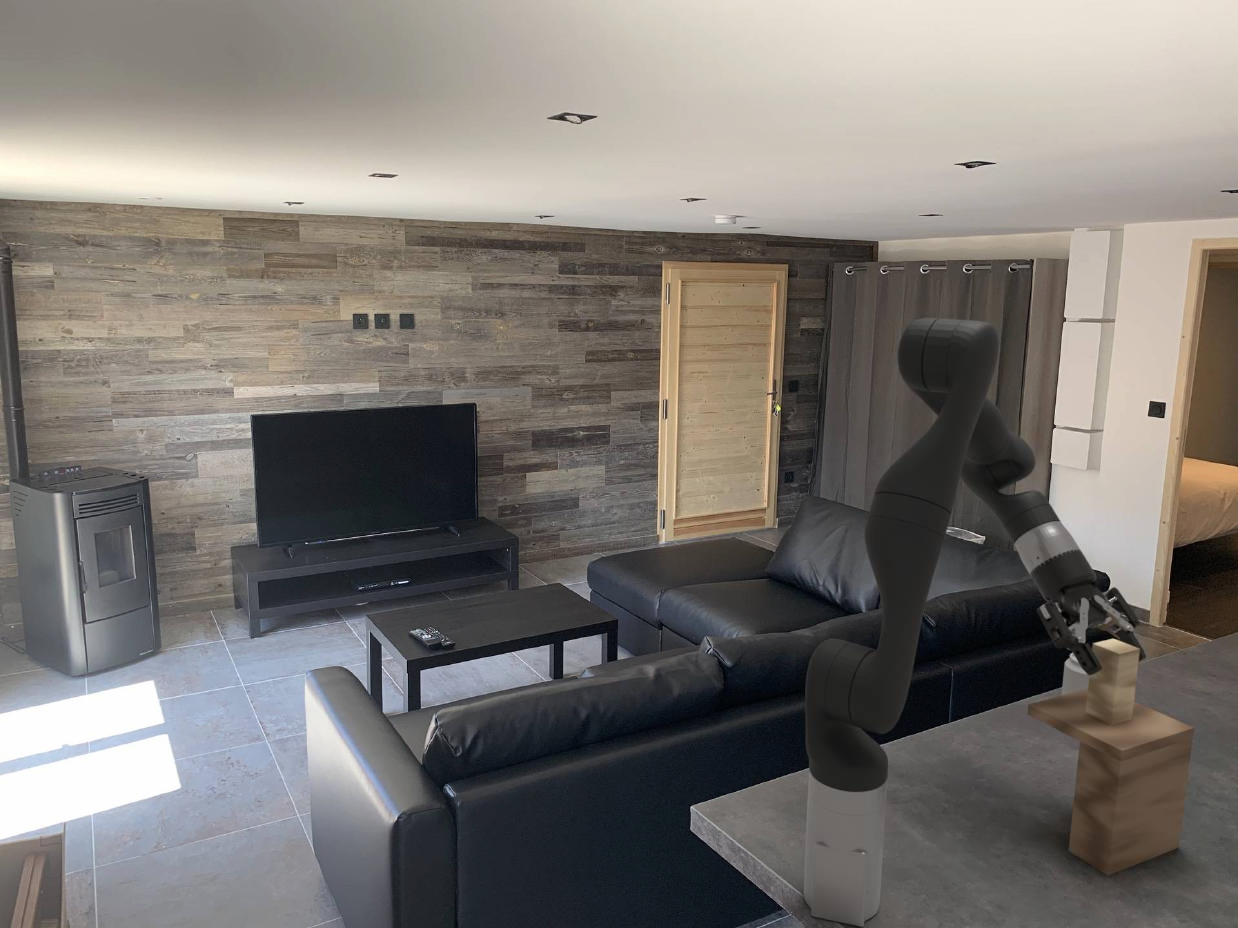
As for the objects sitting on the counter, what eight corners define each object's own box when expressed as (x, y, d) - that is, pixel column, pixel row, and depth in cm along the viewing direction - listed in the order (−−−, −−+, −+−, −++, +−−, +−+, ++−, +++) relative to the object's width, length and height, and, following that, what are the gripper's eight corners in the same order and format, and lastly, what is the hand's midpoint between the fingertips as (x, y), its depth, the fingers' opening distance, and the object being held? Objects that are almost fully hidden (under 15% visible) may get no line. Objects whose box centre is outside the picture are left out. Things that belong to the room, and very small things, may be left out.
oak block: (1085, 712, 132) (1092, 643, 130) (1105, 706, 133) (1113, 638, 131) (1111, 724, 128) (1119, 653, 126) (1131, 718, 130) (1139, 648, 128)
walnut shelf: (1017, 818, 138) (1028, 704, 134) (1086, 795, 144) (1097, 685, 140) (1107, 875, 125) (1122, 750, 121) (1178, 847, 131) (1194, 727, 127)
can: (1049, 717, 169) (1055, 652, 166) (1080, 709, 172) (1086, 645, 169) (1086, 736, 162) (1093, 669, 160) (1117, 727, 165) (1124, 661, 163)
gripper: (1035, 554, 131) (1100, 665, 123) (1107, 541, 137) (1174, 646, 129) (1001, 580, 137) (1061, 687, 129) (1072, 567, 143) (1134, 668, 135)
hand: (1118, 666), depth 129 cm, fingers open, 8 cm apart
